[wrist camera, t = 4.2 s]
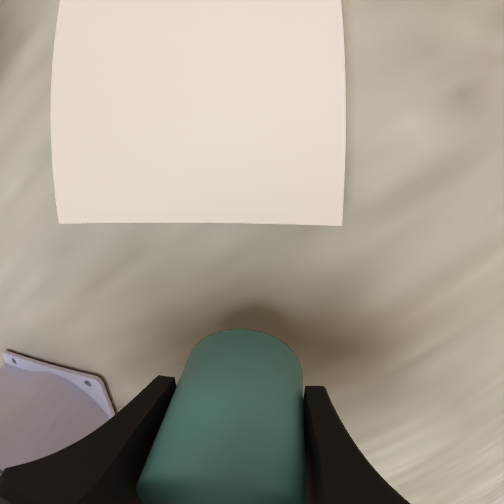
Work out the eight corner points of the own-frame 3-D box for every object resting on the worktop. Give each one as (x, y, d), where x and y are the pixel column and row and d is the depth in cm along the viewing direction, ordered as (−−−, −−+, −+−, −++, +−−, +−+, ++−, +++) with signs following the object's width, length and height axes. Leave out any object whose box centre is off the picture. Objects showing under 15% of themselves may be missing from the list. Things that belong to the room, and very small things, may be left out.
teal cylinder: (193, 408, 13) (157, 523, 7) (181, 324, 11) (114, 455, 6) (297, 416, 12) (296, 540, 7) (307, 331, 11) (318, 480, 5)
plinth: (97, 206, 13) (58, 223, 11) (99, 1, 10) (64, -19, 7) (328, 206, 12) (341, 226, 10) (324, -25, 9) (333, -61, 6)
